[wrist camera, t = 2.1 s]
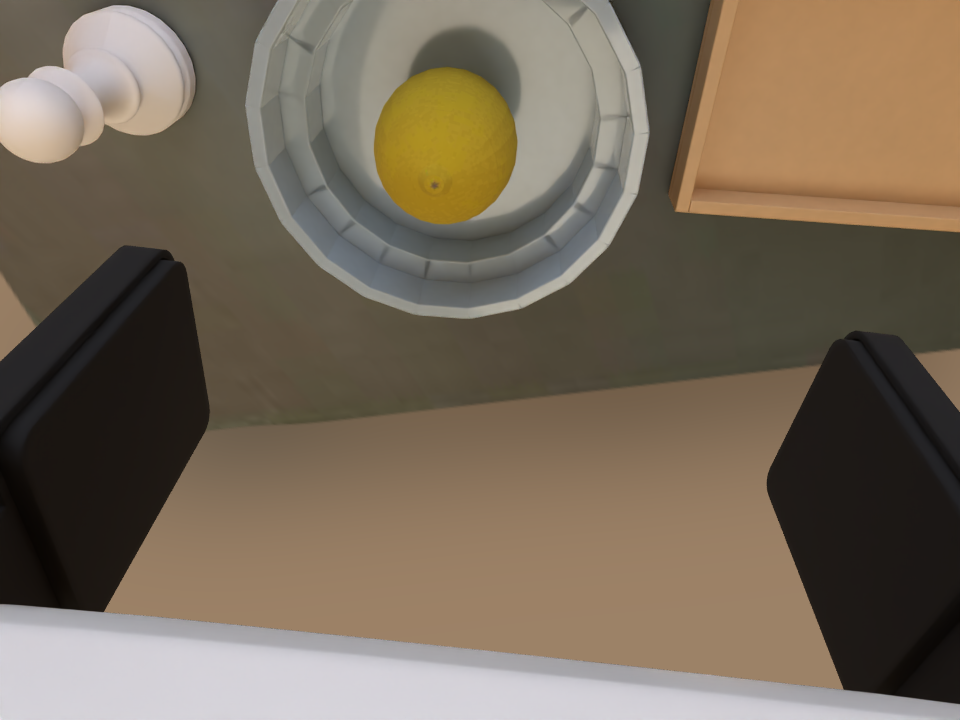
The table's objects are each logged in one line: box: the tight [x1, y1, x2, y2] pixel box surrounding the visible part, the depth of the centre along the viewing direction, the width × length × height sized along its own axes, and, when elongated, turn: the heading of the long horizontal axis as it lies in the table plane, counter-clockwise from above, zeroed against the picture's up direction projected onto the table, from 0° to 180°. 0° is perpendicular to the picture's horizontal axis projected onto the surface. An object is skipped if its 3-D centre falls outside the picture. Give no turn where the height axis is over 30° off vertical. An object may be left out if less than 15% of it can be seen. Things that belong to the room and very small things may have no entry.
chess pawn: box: [0, 5, 196, 163], centre depth 26 cm, size 5×5×9 cm
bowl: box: [245, 0, 650, 319], centre depth 28 cm, size 15×15×5 cm
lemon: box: [374, 67, 518, 224], centre depth 27 cm, size 6×6×8 cm
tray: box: [668, 0, 960, 232], centre depth 27 cm, size 16×12×2 cm
